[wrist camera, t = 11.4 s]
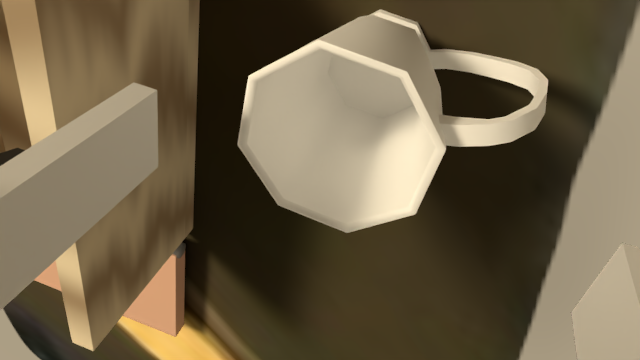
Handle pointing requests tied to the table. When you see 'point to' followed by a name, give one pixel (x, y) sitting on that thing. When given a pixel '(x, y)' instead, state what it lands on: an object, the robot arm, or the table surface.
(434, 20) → the table surface
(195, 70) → the box
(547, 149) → the table surface
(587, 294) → the robot arm
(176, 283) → the tailgate
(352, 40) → the cup
